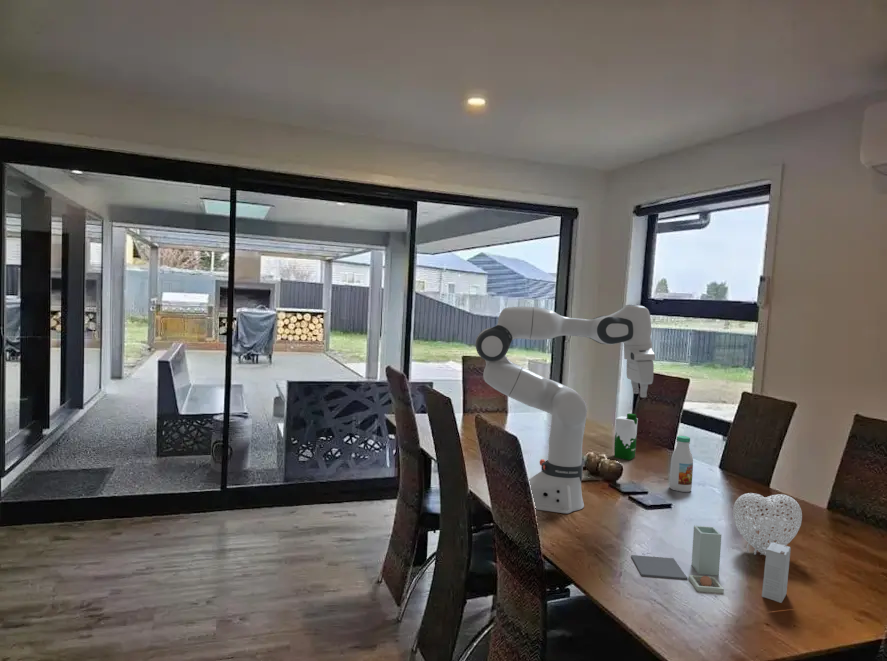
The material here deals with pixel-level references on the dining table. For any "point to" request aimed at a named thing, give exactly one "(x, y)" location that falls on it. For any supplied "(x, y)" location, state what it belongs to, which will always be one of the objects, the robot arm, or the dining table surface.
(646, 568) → the slate coaster
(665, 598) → the dining table surface
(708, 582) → the terracotta ball
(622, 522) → the dining table surface
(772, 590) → the skincare box
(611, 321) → the robot arm
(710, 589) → the sage dish
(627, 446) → the milk carton
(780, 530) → the decorative heart
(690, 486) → the milk bottle
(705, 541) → the celadon tumbler
